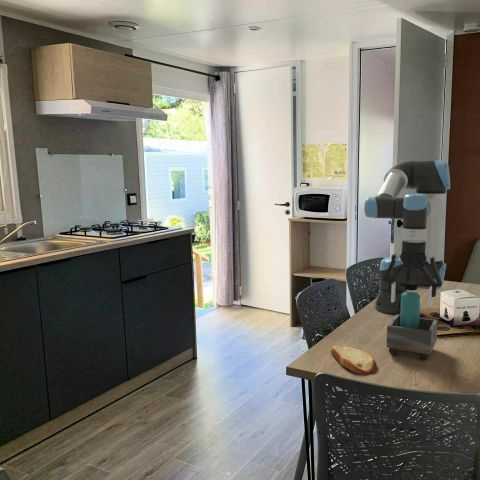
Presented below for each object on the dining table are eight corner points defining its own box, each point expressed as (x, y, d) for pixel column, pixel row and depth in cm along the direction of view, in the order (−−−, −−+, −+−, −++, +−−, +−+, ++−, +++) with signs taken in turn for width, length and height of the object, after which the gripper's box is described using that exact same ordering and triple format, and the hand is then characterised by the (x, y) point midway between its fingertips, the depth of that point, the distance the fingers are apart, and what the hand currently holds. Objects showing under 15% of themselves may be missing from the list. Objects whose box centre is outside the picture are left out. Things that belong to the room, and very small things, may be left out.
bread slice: (333, 348, 178) (333, 338, 177) (384, 357, 170) (384, 347, 169) (315, 367, 163) (315, 356, 162) (371, 378, 154) (371, 366, 153)
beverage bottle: (420, 343, 169) (423, 285, 165) (399, 341, 170) (402, 284, 167) (417, 336, 175) (420, 280, 172) (397, 335, 176) (399, 280, 173)
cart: (395, 341, 182) (396, 314, 181) (436, 348, 175) (437, 319, 174) (386, 355, 170) (387, 325, 169) (429, 362, 163) (431, 332, 162)
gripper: (375, 240, 169) (373, 302, 173) (451, 244, 158) (447, 311, 161) (380, 236, 176) (378, 296, 179) (453, 241, 164) (450, 305, 168)
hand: (411, 303), depth 170 cm, fingers open, 11 cm apart
